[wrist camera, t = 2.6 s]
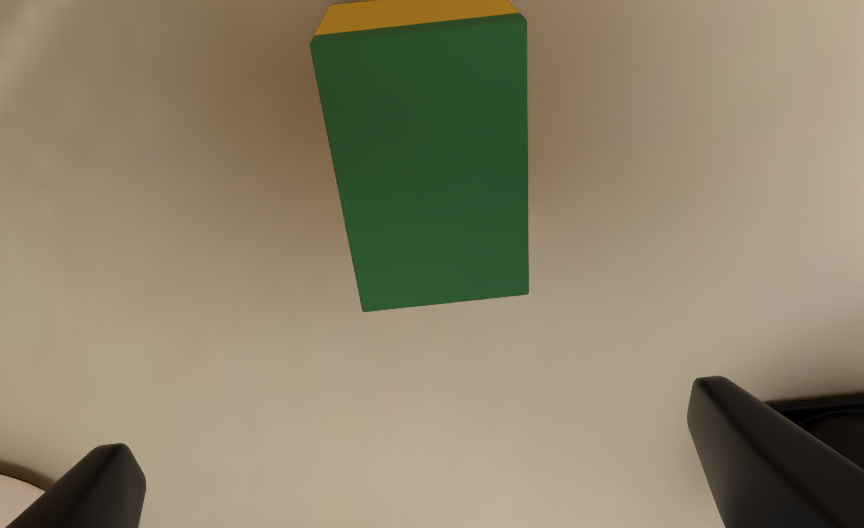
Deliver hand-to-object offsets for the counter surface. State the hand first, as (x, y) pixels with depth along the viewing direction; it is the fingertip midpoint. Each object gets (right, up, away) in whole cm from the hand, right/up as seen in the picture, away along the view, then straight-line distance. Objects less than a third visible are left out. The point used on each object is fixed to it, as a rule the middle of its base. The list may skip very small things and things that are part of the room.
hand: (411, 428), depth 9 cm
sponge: (0, +7, +8) cm, 11 cm away
